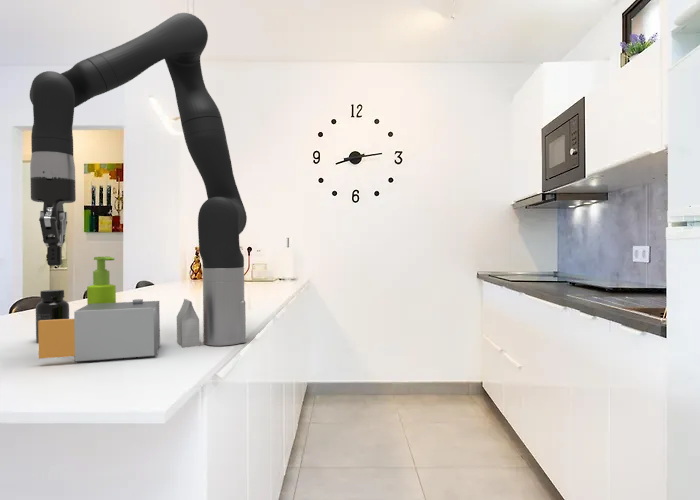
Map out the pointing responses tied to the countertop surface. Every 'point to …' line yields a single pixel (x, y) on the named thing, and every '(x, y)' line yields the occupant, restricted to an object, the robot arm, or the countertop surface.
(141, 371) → the countertop surface
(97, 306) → the camera housing
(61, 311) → the supplement bottle
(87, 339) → the side door
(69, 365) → the countertop surface
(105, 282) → the soap dispenser
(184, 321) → the grey gable top carton
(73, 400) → the countertop surface
